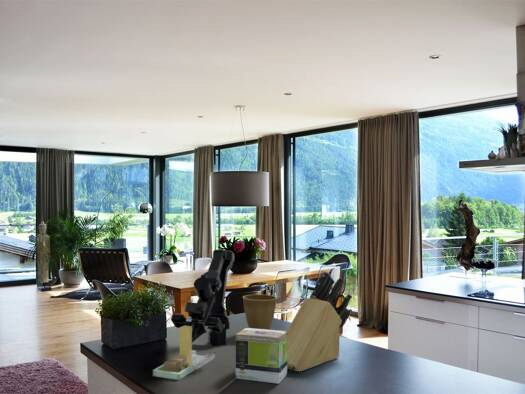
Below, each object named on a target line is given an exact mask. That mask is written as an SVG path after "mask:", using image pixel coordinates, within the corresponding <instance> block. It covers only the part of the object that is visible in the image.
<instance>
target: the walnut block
mask: <svg viewBox="0 0 525 394" xmlns="http://www.w3.org/2000/svg"><path fill="white" fill-rule="evenodd" d="M163 364H164V371H168V372H175V373H179V372H181V360H175V359H171V358H170V359H168V360H166V361H164V362H163Z"/></svg>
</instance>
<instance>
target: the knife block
mask: <svg viewBox="0 0 525 394" xmlns="http://www.w3.org/2000/svg"><path fill="white" fill-rule="evenodd" d="M343 283H344V280H343V279H342V278H337V280H336V281H335V280H334V279H333V277H332V276H331V274H330V273H329V272H328V271H325V272H324V273H323V274H321V276H320V278H319V279H318V281H317V282H316V284H315V286H314V288H313V291H312V292H311V294H310V296H309V297H305V298H304V300H303V302H302V303H301V305H300V307H299V309H298V310H297V312H296V314H295V316H294V318H293V319H292V321H291V323H290V324H289V326H288V329H286V331H287V369H289V370H292V371H295V372H298V371H299V372H298V373H300V371H301V372H302V371H306V370H309V369H311V368H314V367H316V366H319V365H321V364H323V363H326V362H329V361H332V360H336V359H338V358H339V357H340V339H341V338H340V336H341V335H340V334H341V333H340V332H341V330H342V329H343V327H344V326H345V324H346V322H347V321H348V319H349V317H350V315H351V314H352V309H349V308H347V307H348V306H349V304H350V301H351V299H352V298H353V296H352V294H350V293H349V294H346V296H344V294H338V293H339V292H340V290H341V288H342V286H343ZM340 298H342V301H341V302H340V303H341V304H340V305H338V306H337V304H338V302H339V299H340ZM335 358H336V359H335Z"/></svg>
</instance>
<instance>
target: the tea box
mask: <svg viewBox="0 0 525 394" xmlns="http://www.w3.org/2000/svg"><path fill="white" fill-rule="evenodd" d="M286 376H288V368H287V330H278V329H269V330H268V329H255V328H249V327H245V328H244V329H242V330H240V331H239V332H237V333H236V334H235V379H237V380H239V379H240V380H246V381H255V382H261V383H262V382H263V383H269V384H270V383H271V384H280V383H281V382H282V381H283V379H284V378H285V377H286Z"/></svg>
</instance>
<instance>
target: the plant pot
mask: <svg viewBox="0 0 525 394" xmlns="http://www.w3.org/2000/svg"><path fill="white" fill-rule="evenodd" d="M242 300H243V302H242V303H243V309H244V314H245V320H246V323H247V326H248V327H247V328H255V329H268V330H271V326H272V323H273V319H274V315H275V312H276V307H277V301H278V297H277V296H275V295H270V294H246V295H243V296H242Z"/></svg>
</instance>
